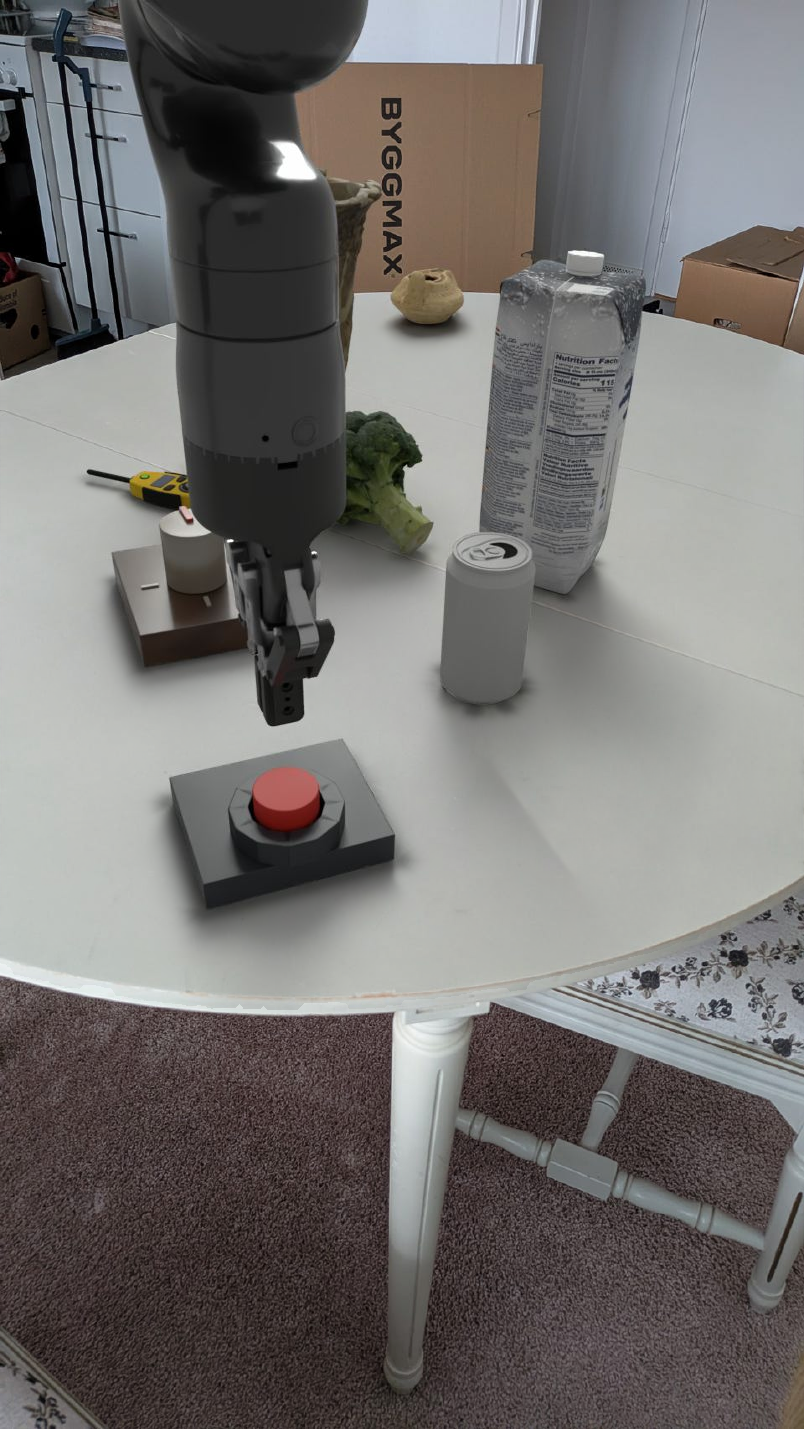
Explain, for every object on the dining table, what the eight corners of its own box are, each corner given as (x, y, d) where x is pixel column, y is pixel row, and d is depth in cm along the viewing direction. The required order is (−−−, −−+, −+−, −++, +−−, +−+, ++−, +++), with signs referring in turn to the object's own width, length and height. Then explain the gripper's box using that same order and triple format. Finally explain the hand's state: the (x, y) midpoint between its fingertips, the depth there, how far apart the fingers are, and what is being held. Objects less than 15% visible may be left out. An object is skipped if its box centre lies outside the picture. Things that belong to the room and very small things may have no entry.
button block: (208, 915, 59) (201, 868, 56) (172, 801, 66) (165, 756, 64) (397, 864, 63) (398, 818, 60) (343, 762, 70) (342, 717, 68)
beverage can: (535, 700, 76) (554, 563, 69) (459, 718, 74) (470, 578, 67) (498, 656, 81) (513, 522, 74) (426, 671, 79) (433, 535, 72)
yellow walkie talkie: (198, 498, 98) (70, 469, 102) (199, 516, 99) (73, 487, 103) (223, 479, 101) (99, 452, 105) (224, 497, 102) (101, 469, 107)
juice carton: (573, 605, 88) (623, 281, 71) (466, 573, 91) (490, 259, 75) (608, 562, 94) (661, 255, 77) (506, 534, 98) (536, 236, 81)
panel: (144, 667, 78) (139, 634, 76) (116, 581, 89) (110, 550, 87) (291, 639, 82) (289, 607, 80) (247, 560, 92) (245, 529, 90)
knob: (234, 587, 83) (229, 527, 79) (175, 599, 81) (167, 538, 77) (217, 559, 86) (211, 500, 83) (159, 570, 84) (151, 511, 81)
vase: (186, 433, 115) (159, 172, 98) (302, 394, 126) (296, 154, 109) (292, 482, 105) (282, 202, 89) (408, 435, 116) (418, 179, 100)
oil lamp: (468, 306, 158) (472, 252, 153) (457, 335, 146) (461, 278, 141) (400, 301, 159) (402, 247, 154) (384, 329, 147) (385, 272, 142)
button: (263, 839, 59) (262, 817, 58) (246, 796, 62) (244, 774, 61) (328, 823, 60) (327, 801, 59) (308, 781, 63) (307, 760, 62)
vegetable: (350, 567, 87) (254, 447, 91) (385, 601, 100) (300, 494, 103) (457, 477, 86) (356, 358, 90) (480, 522, 98) (390, 416, 102)
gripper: (154, 377, 50) (190, 663, 60) (217, 489, 40) (246, 806, 50) (299, 362, 52) (309, 640, 62) (392, 465, 42) (385, 773, 53)
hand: (281, 714), depth 56 cm, fingers closed
